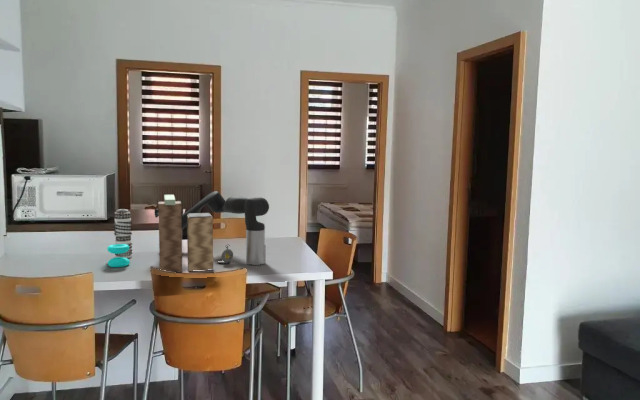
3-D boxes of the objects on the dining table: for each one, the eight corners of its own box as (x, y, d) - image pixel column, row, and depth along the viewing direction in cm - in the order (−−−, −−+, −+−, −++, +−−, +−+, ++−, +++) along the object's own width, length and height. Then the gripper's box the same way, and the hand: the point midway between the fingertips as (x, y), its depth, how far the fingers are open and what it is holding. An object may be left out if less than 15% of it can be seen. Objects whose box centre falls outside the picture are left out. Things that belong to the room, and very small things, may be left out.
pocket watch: (219, 261, 255) (219, 241, 254) (235, 262, 254) (235, 242, 253) (213, 264, 247) (213, 244, 246) (229, 265, 246) (229, 245, 245)
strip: (173, 199, 247) (173, 194, 246) (175, 204, 224) (175, 199, 224) (164, 199, 245) (164, 194, 245) (164, 205, 223) (164, 199, 222)
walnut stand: (181, 266, 242) (180, 201, 239) (182, 271, 233) (181, 203, 230) (159, 267, 239) (158, 201, 236) (159, 272, 230) (158, 203, 227)
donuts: (105, 244, 244) (127, 242, 249) (106, 264, 245) (128, 262, 250) (108, 248, 235) (130, 246, 240) (109, 268, 236) (131, 266, 241)
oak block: (210, 264, 247) (210, 212, 244) (213, 270, 235) (212, 216, 233) (187, 266, 243) (187, 213, 241) (189, 272, 232) (188, 216, 229)
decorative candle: (137, 255, 264) (135, 209, 262) (123, 259, 256) (122, 211, 254) (124, 254, 268) (123, 208, 266) (110, 257, 260) (109, 210, 257)
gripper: (182, 225, 269) (183, 213, 254) (154, 226, 264) (154, 214, 250) (182, 212, 271) (183, 200, 257) (154, 213, 267) (154, 200, 253)
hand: (169, 207), depth 254 cm, fingers open, 8 cm apart
